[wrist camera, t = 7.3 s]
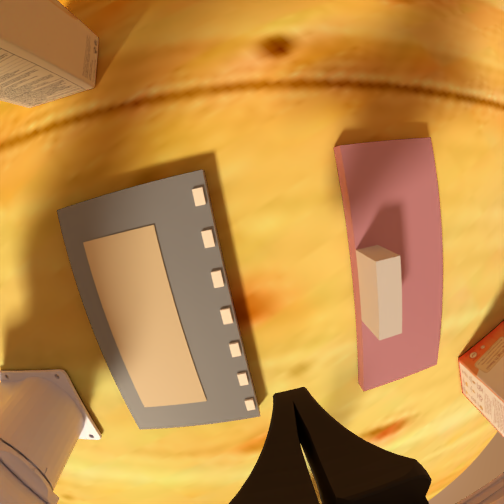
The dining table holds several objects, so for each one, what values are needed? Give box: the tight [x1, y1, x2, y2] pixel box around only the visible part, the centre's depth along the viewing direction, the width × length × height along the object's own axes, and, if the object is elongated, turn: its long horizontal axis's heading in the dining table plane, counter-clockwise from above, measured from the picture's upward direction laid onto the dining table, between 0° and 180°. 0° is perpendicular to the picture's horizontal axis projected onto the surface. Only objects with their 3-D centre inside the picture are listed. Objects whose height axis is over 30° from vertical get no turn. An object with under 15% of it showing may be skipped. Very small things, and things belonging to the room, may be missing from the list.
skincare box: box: [0, 0, 99, 108], centre depth 10 cm, size 6×4×12 cm
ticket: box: [57, 170, 260, 429], centre depth 20 cm, size 10×18×1 cm, turn 11°
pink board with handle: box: [334, 137, 443, 391], centre depth 19 cm, size 7×18×4 cm, turn 11°
